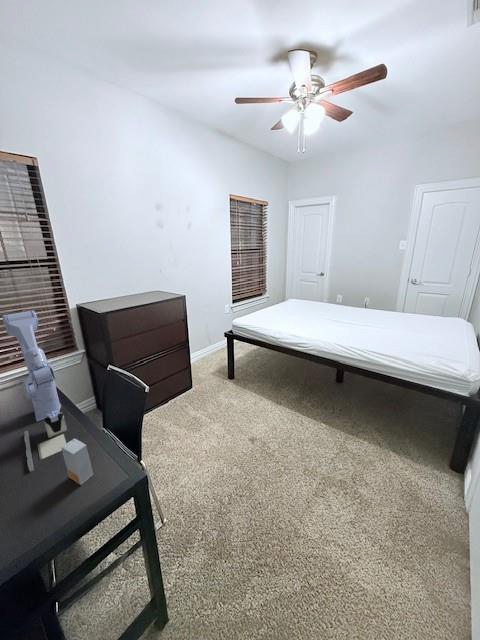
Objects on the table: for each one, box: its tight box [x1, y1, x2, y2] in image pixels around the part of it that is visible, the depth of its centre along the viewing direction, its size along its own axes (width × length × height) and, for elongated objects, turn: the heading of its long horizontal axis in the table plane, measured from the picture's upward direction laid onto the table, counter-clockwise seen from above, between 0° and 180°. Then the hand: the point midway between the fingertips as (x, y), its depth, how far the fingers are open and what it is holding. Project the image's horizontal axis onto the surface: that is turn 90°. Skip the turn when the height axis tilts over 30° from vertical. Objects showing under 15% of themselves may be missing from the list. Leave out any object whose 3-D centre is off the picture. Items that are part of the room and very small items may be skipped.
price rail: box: [23, 430, 35, 472], centre depth 92 cm, size 22×1×2 cm, turn 41°
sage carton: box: [43, 412, 68, 439], centre depth 100 cm, size 4×6×6 cm
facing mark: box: [36, 433, 68, 461], centre depth 94 cm, size 9×8×1 cm
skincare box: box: [61, 438, 94, 486], centre depth 80 cm, size 6×4×12 cm
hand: (56, 427), depth 101 cm, fingers closed on sage carton, 4 cm apart
